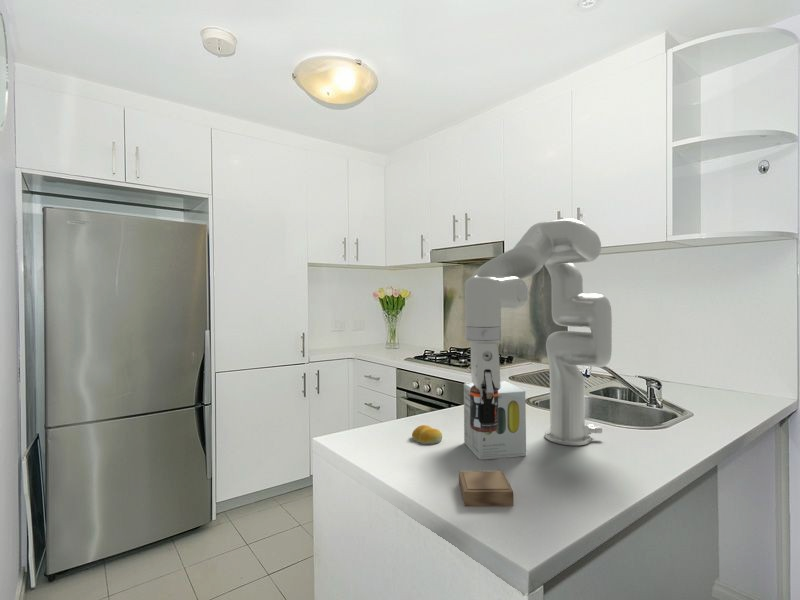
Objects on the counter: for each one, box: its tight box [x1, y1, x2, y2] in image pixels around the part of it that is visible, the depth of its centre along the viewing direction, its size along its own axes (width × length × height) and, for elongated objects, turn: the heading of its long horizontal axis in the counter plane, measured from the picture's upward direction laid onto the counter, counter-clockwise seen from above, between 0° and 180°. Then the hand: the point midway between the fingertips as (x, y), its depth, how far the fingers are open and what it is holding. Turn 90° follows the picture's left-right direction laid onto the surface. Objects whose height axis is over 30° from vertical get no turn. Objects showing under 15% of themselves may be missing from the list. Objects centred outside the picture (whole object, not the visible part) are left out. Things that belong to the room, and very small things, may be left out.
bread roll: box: [411, 424, 443, 445], centre depth 127 cm, size 8×9×4 cm
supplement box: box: [463, 380, 527, 461], centre depth 118 cm, size 13×13×18 cm
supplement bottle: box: [470, 385, 498, 432], centre depth 92 cm, size 6×6×11 cm
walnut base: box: [458, 470, 515, 507], centre depth 93 cm, size 10×10×3 cm
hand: (484, 416), depth 92 cm, fingers closed on supplement bottle, 6 cm apart
